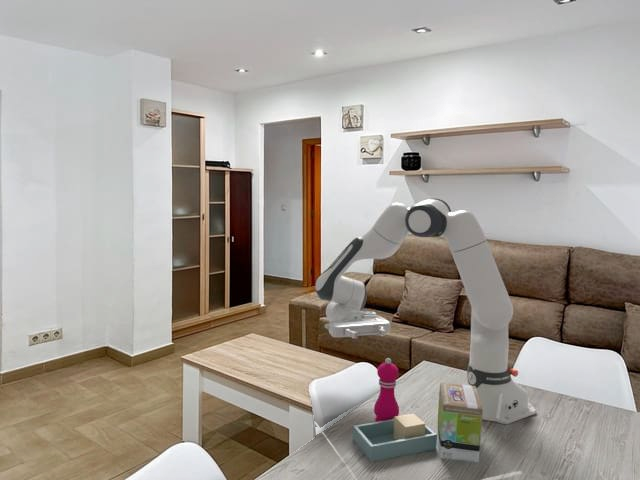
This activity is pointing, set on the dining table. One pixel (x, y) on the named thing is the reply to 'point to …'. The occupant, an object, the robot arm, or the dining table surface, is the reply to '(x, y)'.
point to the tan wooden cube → (408, 426)
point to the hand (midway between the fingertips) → (369, 334)
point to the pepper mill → (386, 392)
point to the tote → (390, 441)
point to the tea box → (459, 422)
